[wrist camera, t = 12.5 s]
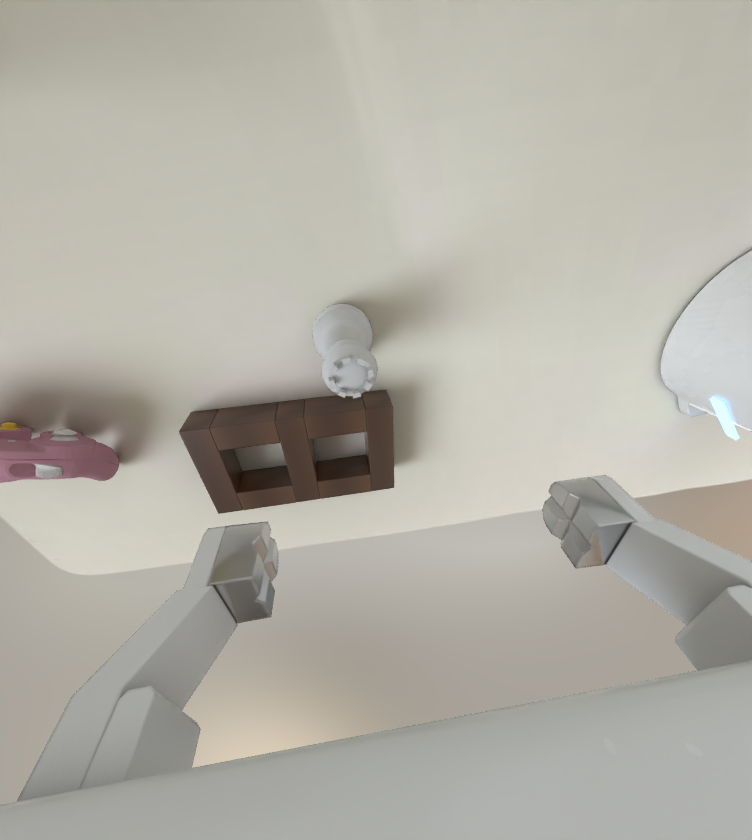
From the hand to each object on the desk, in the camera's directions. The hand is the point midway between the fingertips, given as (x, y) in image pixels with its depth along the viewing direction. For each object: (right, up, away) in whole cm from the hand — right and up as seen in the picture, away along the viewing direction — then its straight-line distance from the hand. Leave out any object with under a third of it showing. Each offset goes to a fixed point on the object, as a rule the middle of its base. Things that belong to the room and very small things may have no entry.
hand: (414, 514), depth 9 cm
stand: (-8, +1, +20) cm, 22 cm away
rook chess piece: (-4, +10, +15) cm, 18 cm away
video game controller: (-27, +2, +16) cm, 31 cm away
